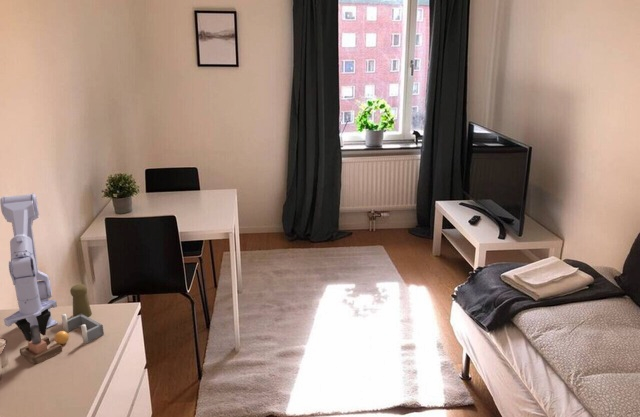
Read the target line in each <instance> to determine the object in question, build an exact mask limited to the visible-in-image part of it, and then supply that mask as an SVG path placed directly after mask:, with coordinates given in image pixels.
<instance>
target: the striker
mask: <svg viewBox="0 0 640 417" xmlns="http://www.w3.org/2000/svg"><path fill="white" fill-rule="evenodd" d="M30 333H31V338H32V341H30V342H29V341H27V346H29V351H30V353H32V354H33V355H37V354H39V353H41V352H44V351H46V350H48V345H47V344H46V342H45V341H43V340H42V339H43V338H42V336H41V334H40V331H39V326H38V325H33V326H31V327H30Z"/></svg>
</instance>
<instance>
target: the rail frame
mask: <svg viewBox="0 0 640 417" xmlns="http://www.w3.org/2000/svg"><path fill="white" fill-rule="evenodd" d="M41 339H42V340H43V341H45V342H46V344H47V346H48V345H50V344H51V341H50V338H49V337H48V336H46V337H44V338H41ZM61 352H63V347H62V344H58V343H57V345H55V346H52V347H50V348H47V350H46V351H44V352H41V353H39V354H37V355H33V354H32V353H30V351H29V346H28V345H26V346H24V347H22V348H19V354H20V356H22V357H23V358H24V359H26V360H27V361H29V362H30V363H32V364H33V365H37V364H38V363H41V362H43V361H45V360H47V359H49V358H51V357H53V356H56V355H57V354H59V353H61Z"/></svg>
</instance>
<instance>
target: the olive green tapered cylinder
mask: <svg viewBox="0 0 640 417" xmlns="http://www.w3.org/2000/svg"><path fill="white" fill-rule="evenodd" d="M69 291H70V295H71V297H72V318H73V317H75V316H77V315H80V314H83V315H85V316H86V317H88V318H90V317H91V316H92V315H93V312H92V309H91V306H90V302H89V299H88V296H87V294H88V288H87V286H86V285H85V284H82V283H80V284H79V283H77V284H75V285H73V286H71V288H70V290H69Z"/></svg>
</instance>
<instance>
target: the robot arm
mask: <svg viewBox="0 0 640 417" xmlns="http://www.w3.org/2000/svg"><path fill="white" fill-rule="evenodd" d="M38 204H39V203H38V199H37V194H36V193H33V192H31V193H28V194H22V195H19V194H18V195H12V196H11V195H10V196H1V198H0V209H1V213H2V216H3V218H4V219H5V221H6V222H7V223H11V225H12V226H11V227H12V231H13V237H12V238H11V239H10V241H9V247H10V249H9V250H10V252H9V253H10V260H9V261H8V272H9V275H10V278H11V280H12V285H13V286H14V290H15V295H16V299H17V300H16V301H17V305H18V310H17V311H16V312H14V313H12V314H10V315H9V316H8V317H5V318H3V322H4V325H5V327H8V328H9V327H11V326H12V325H14V324H15V325H16V326H17V328H18V329H19V330H20V331H21V333H22V334H23V336H24V339H25V340H26V341H27V342H28V341H29V342H30V341H32V338H31V333H30V327H31V326H33V325H38V326H39V331H40V335H42V336H46V335H47V334H46V333H47V329H49V328H51V327H53V326H56V325H58V324H59V323H58V321H56V320H55V319H54V318H52V313H51V312H52V311H51V308H58V304H57V301H56V300H55V299H51V298H52V297H53V291H52V285H51V280H50V276H49V275H48V274H47V273H45V272H42V271H41V270H39V264H38V258H37V253H36V252H37V251H36V245H35V239H34V232H33V223H34V221H35V220H37V219H38V218H39V215H40V213H39V205H38ZM49 299H50V300H49Z"/></svg>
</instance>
